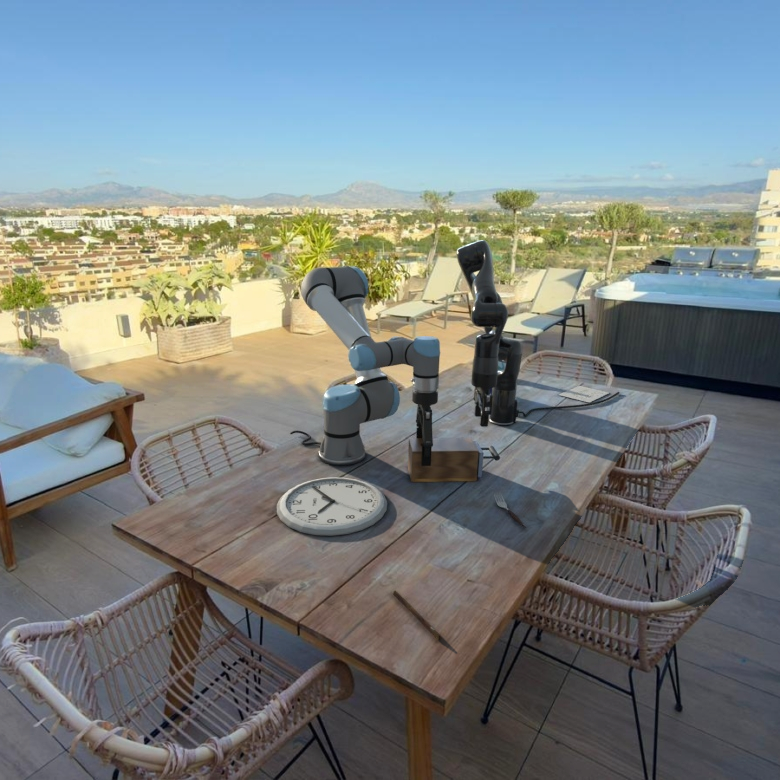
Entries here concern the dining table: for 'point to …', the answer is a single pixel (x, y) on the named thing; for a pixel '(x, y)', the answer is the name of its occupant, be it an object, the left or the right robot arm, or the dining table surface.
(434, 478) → the cabinet
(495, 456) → the drawer
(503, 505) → the fork
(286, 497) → the wall clock
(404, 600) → the dark brown thin rod
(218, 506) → the dining table surface
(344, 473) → the dining table surface
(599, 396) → the invitation card
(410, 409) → the dining table surface
